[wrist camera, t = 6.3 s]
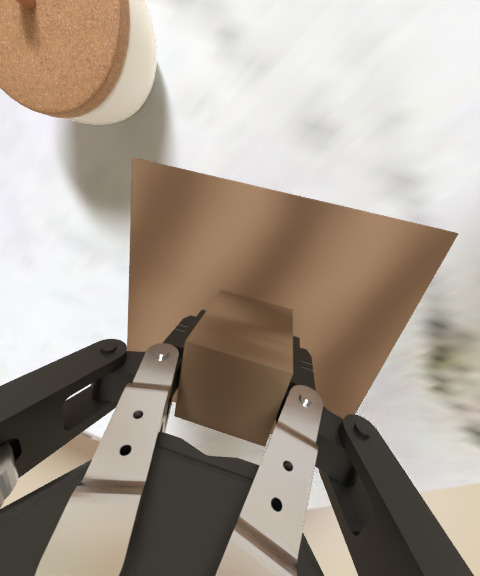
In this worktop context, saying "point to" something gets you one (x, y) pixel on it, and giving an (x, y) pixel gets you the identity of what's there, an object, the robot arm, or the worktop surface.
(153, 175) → the walnut lid
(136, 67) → the lidded jar
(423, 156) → the worktop surface
